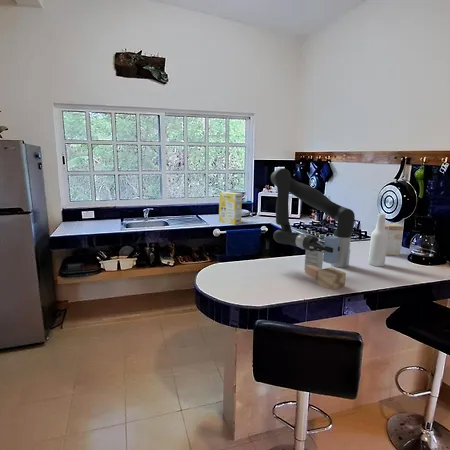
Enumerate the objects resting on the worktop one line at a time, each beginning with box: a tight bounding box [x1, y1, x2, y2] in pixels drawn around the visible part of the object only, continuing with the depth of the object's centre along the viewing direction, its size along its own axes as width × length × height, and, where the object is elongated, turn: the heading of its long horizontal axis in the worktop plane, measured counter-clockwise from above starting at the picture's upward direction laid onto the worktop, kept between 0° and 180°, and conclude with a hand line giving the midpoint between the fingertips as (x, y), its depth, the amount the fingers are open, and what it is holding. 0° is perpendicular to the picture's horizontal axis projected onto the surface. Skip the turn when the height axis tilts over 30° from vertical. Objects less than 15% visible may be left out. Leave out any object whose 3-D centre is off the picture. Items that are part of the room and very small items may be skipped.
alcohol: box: [367, 212, 388, 268], centre depth 192 cm, size 9×9×30 cm
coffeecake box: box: [374, 223, 404, 257], centre depth 217 cm, size 15×7×20 cm, turn 84°
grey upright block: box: [303, 249, 324, 271], centre depth 180 cm, size 7×7×13 cm
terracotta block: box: [304, 264, 320, 280], centre depth 172 cm, size 10×4×4 cm, turn 18°
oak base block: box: [316, 267, 347, 291], centre depth 159 cm, size 9×9×7 cm
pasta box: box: [218, 191, 243, 226], centre depth 310 cm, size 18×10×28 cm, turn 53°
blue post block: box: [323, 235, 339, 264], centre depth 157 cm, size 4×4×12 cm
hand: (335, 249), depth 155 cm, fingers closed on blue post block, 4 cm apart
